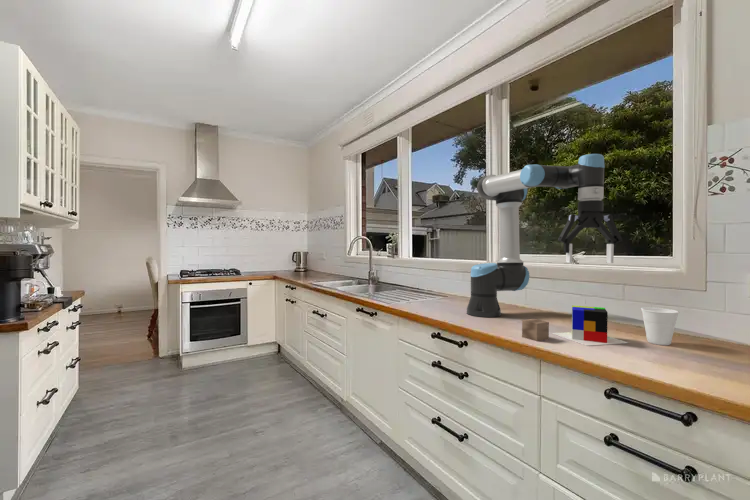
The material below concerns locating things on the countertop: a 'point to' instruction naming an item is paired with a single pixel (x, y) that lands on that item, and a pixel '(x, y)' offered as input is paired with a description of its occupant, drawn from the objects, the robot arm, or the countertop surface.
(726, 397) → the countertop surface
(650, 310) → the cup
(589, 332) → the puzzle toy
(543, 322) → the walnut block
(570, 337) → the mat
